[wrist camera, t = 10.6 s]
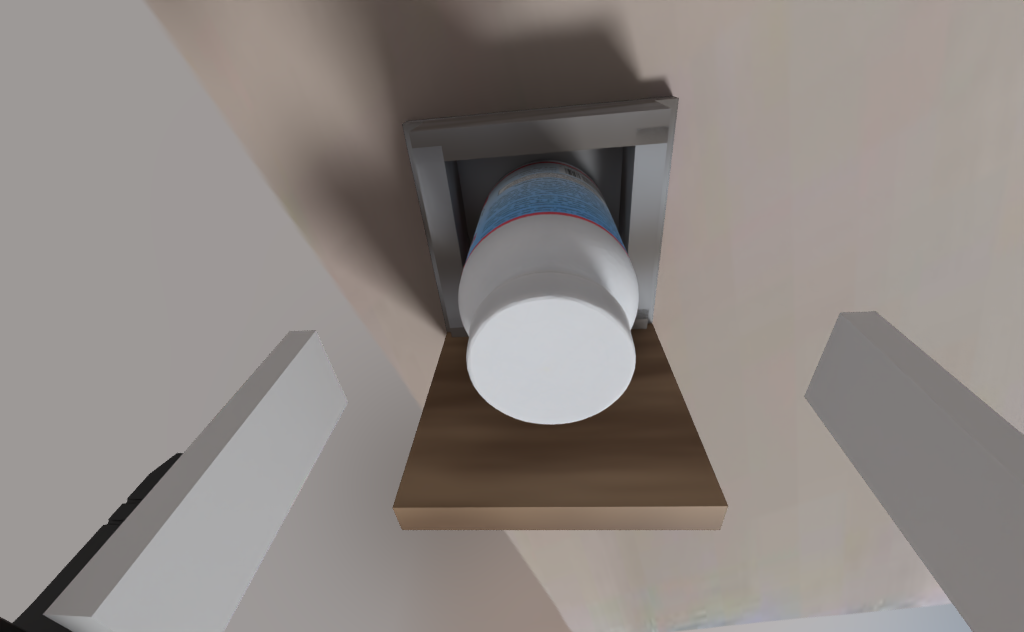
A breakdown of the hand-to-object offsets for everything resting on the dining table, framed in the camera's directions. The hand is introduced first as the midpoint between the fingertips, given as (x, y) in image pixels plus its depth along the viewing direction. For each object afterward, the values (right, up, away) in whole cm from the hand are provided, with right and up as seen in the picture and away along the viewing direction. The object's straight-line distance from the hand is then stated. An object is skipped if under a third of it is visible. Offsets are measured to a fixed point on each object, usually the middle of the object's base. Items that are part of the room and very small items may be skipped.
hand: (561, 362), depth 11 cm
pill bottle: (0, +6, +10) cm, 11 cm away
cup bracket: (0, +5, +11) cm, 12 cm away
